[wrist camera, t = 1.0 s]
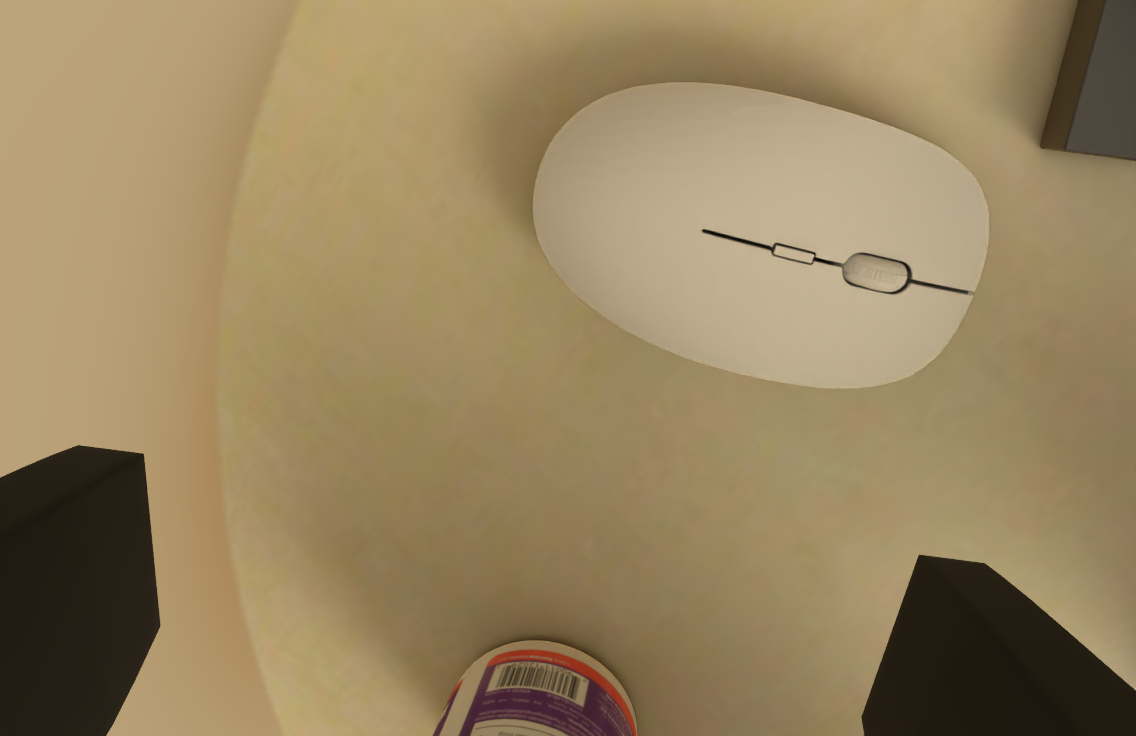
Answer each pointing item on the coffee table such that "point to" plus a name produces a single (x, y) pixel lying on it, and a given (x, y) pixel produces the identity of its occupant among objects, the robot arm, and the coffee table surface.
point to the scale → (1097, 84)
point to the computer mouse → (763, 232)
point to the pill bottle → (537, 695)
